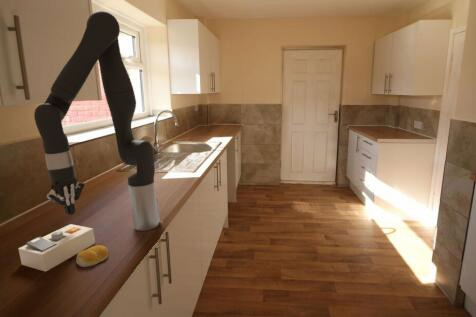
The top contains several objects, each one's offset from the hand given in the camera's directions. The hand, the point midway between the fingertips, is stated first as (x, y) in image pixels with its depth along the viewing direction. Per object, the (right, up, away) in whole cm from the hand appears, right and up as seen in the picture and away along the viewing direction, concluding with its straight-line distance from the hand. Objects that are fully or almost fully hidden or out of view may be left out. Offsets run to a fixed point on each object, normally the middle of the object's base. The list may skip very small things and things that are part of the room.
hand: (70, 214), depth 104 cm
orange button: (+1, -8, +1) cm, 8 cm away
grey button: (-2, -8, -5) cm, 9 cm away
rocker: (-4, -8, -10) cm, 13 cm away
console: (-1, -12, -4) cm, 13 cm away
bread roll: (+11, -13, -8) cm, 19 cm away
